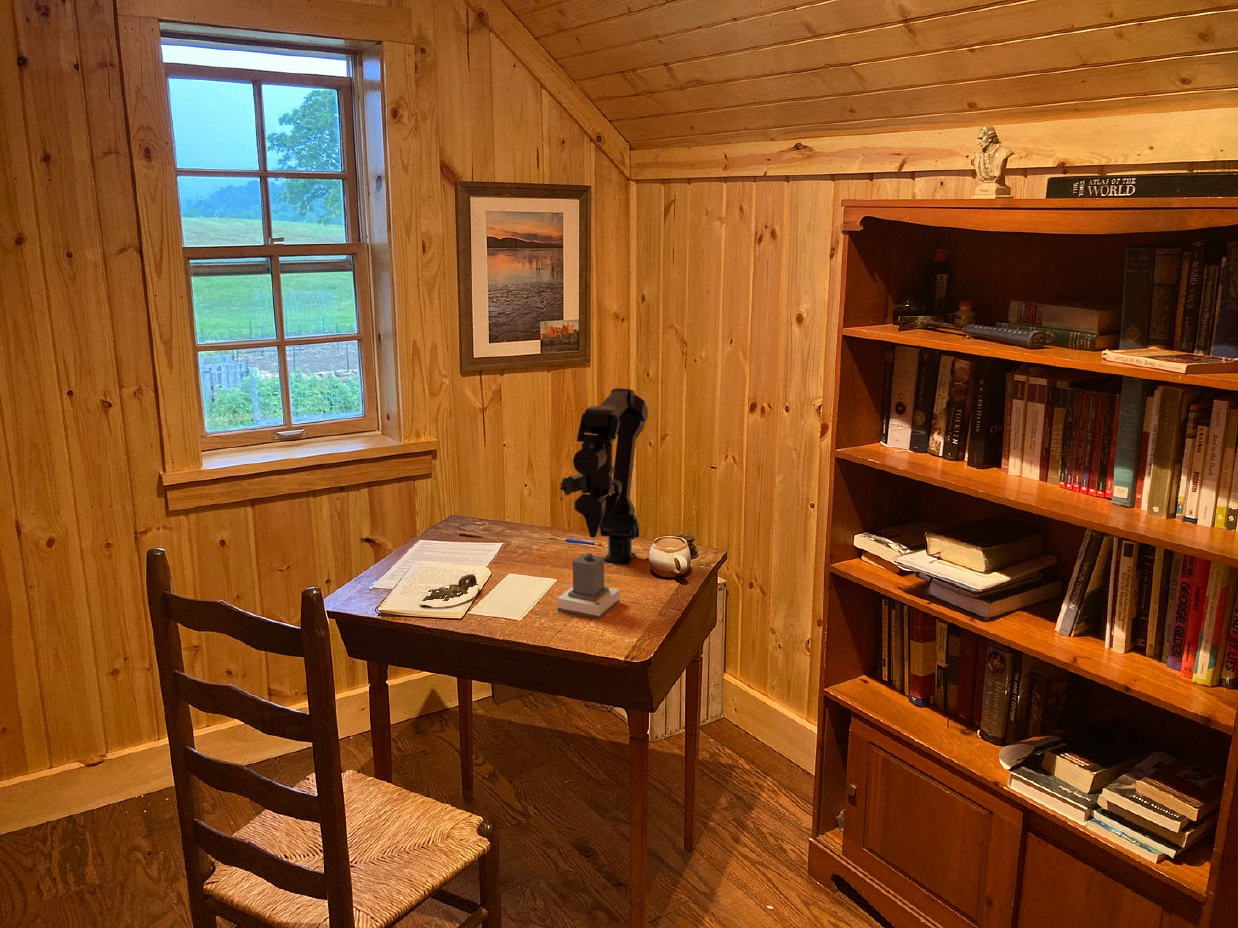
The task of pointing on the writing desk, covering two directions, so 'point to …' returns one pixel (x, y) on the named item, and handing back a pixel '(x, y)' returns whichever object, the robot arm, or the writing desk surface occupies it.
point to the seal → (453, 589)
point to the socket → (588, 604)
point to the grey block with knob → (588, 578)
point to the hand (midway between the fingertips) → (598, 531)
